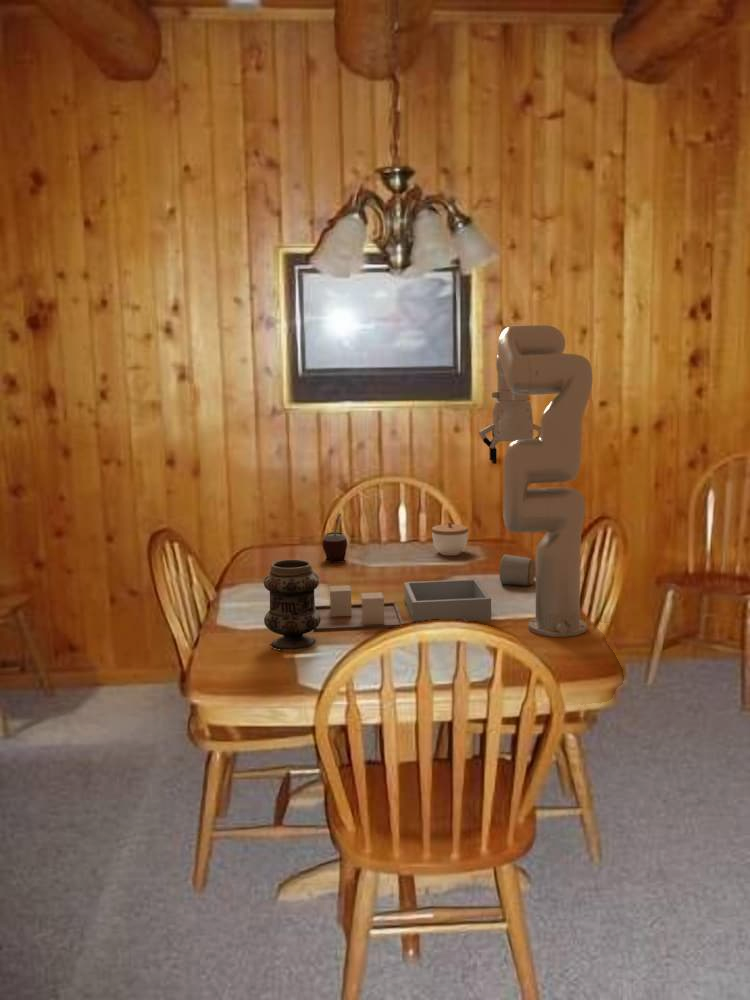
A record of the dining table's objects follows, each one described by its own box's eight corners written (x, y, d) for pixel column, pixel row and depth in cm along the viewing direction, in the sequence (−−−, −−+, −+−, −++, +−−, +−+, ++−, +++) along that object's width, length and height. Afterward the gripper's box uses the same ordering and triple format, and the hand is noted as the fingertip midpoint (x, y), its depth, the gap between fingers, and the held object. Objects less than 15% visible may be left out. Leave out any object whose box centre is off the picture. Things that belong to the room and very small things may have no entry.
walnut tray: (403, 629, 218) (403, 624, 218) (314, 633, 217) (314, 628, 216) (396, 607, 236) (395, 602, 236) (313, 610, 234) (312, 606, 234)
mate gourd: (330, 557, 289) (328, 507, 286) (354, 559, 286) (352, 509, 283) (318, 563, 282) (316, 512, 280) (342, 565, 279) (340, 513, 276)
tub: (491, 619, 223) (491, 598, 223) (413, 623, 222) (412, 602, 221) (477, 598, 241) (477, 579, 240) (404, 602, 240) (404, 582, 239)
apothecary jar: (333, 643, 210) (330, 561, 207) (292, 658, 201) (289, 573, 198) (294, 632, 218) (291, 554, 215) (253, 646, 209) (249, 564, 206)
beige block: (384, 623, 221) (383, 597, 220) (363, 624, 220) (362, 598, 219) (382, 617, 225) (381, 592, 224) (361, 618, 225) (361, 593, 224)
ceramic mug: (530, 589, 249) (530, 559, 248) (499, 587, 251) (499, 557, 250) (538, 579, 259) (538, 551, 257) (507, 577, 261) (507, 549, 260)
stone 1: (351, 615, 228) (350, 590, 227) (331, 616, 227) (330, 591, 226) (350, 609, 232) (349, 585, 231) (330, 610, 232) (329, 586, 231)
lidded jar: (428, 550, 295) (427, 520, 293) (462, 548, 296) (462, 517, 295) (437, 558, 284) (436, 526, 283) (472, 556, 286) (472, 524, 284)
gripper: (481, 398, 247) (482, 465, 250) (549, 396, 248) (548, 463, 251) (476, 396, 254) (476, 461, 257) (541, 394, 255) (541, 459, 258)
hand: (512, 462), depth 254 cm, fingers open, 9 cm apart
